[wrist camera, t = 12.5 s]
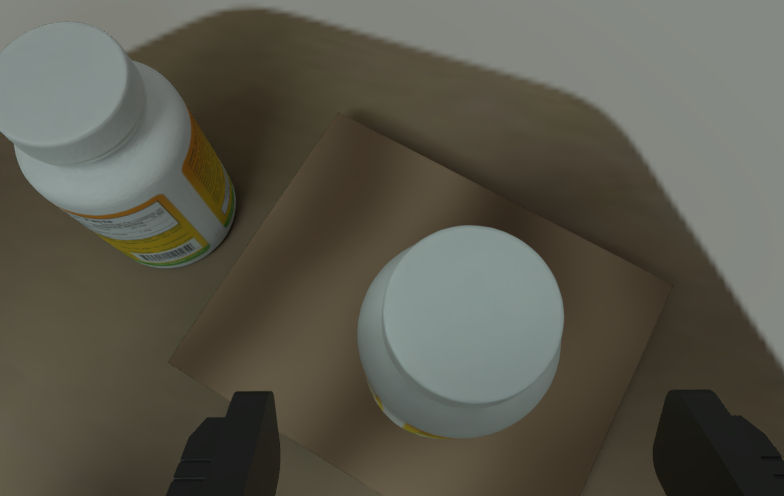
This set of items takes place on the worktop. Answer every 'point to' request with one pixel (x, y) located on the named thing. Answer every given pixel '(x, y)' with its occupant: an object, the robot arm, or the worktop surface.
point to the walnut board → (342, 308)
